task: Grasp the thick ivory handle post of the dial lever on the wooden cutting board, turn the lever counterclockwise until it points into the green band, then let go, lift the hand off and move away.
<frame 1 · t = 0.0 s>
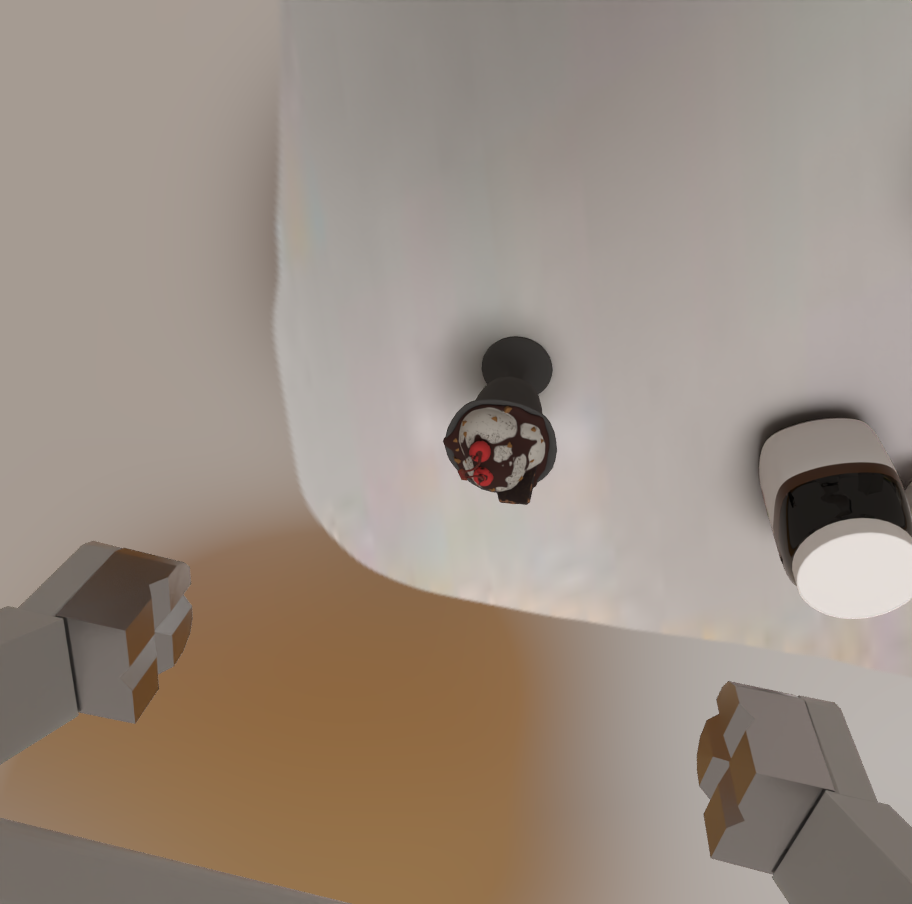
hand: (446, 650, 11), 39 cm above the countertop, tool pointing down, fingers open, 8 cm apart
spread jar: (842, 468, 52), on the countertop
sundae: (516, 367, 52), on the countertop
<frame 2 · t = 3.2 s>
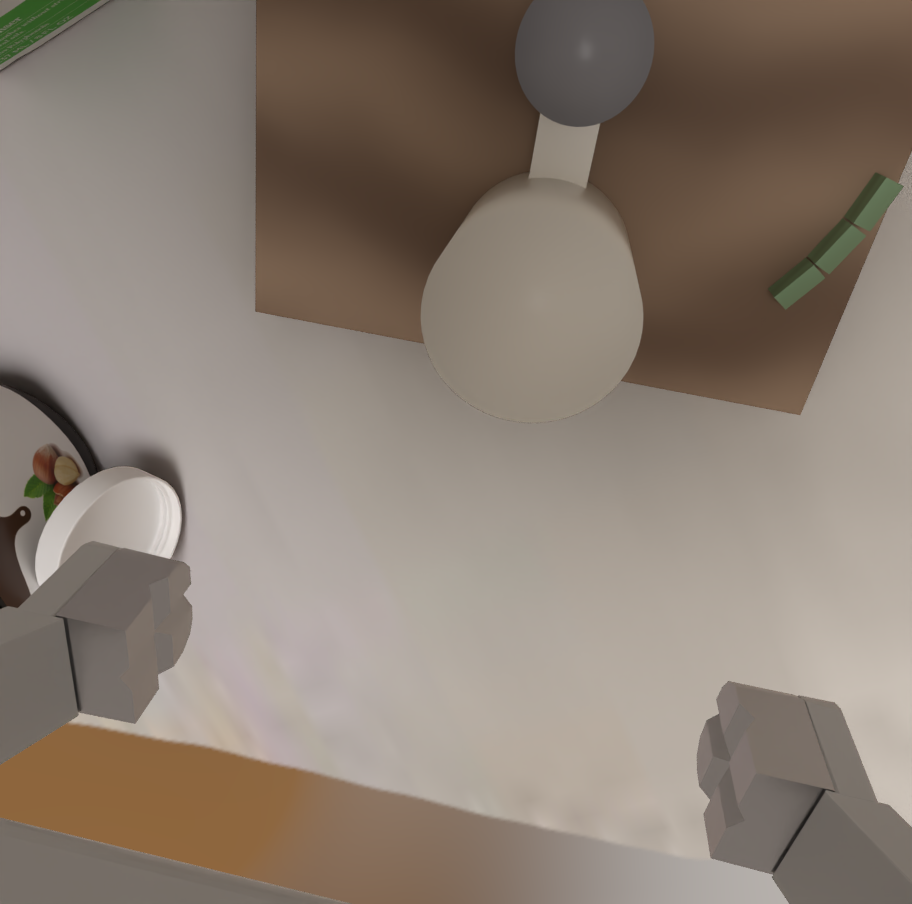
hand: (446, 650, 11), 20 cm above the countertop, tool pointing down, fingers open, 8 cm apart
spread jar: (72, 466, 36), on the countertop
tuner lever: (553, 201, 21), point 5 cm above the countertop, hinge at 0.0°
wooden cutting board: (583, 50, 24), on the countertop
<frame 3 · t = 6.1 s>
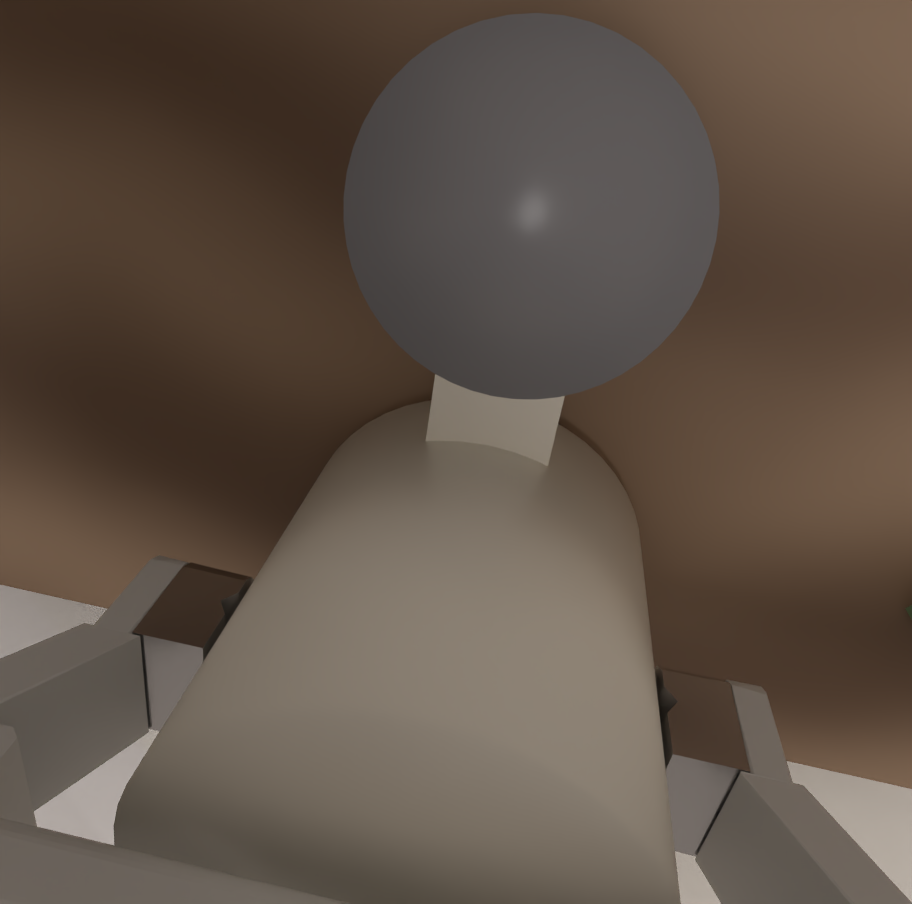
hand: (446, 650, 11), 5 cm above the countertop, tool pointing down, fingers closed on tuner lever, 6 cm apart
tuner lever: (467, 534, 9), point 5 cm above the countertop, hinge at 0.0°, touching gripper
wooden cutting board: (548, 156, 12), on the countertop
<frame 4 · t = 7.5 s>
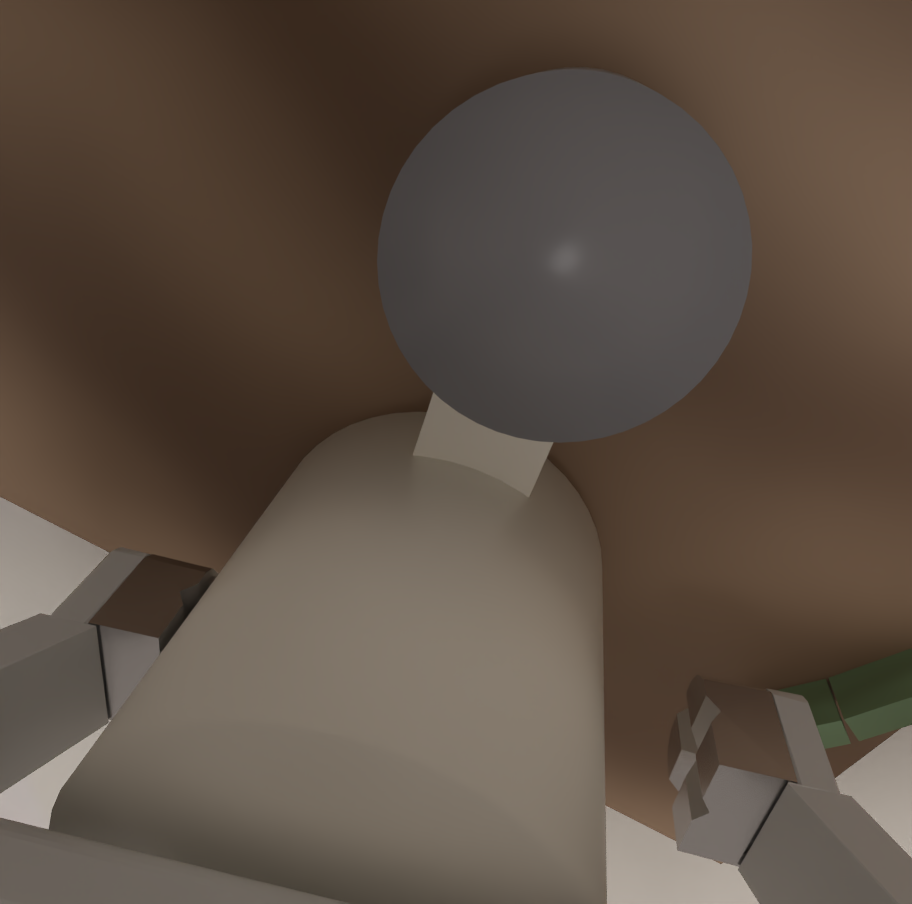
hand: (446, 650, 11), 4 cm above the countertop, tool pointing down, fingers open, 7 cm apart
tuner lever: (445, 557, 9), point 5 cm above the countertop, hinge at 10.0°, touching gripper
wooden cutting board: (571, 190, 12), on the countertop
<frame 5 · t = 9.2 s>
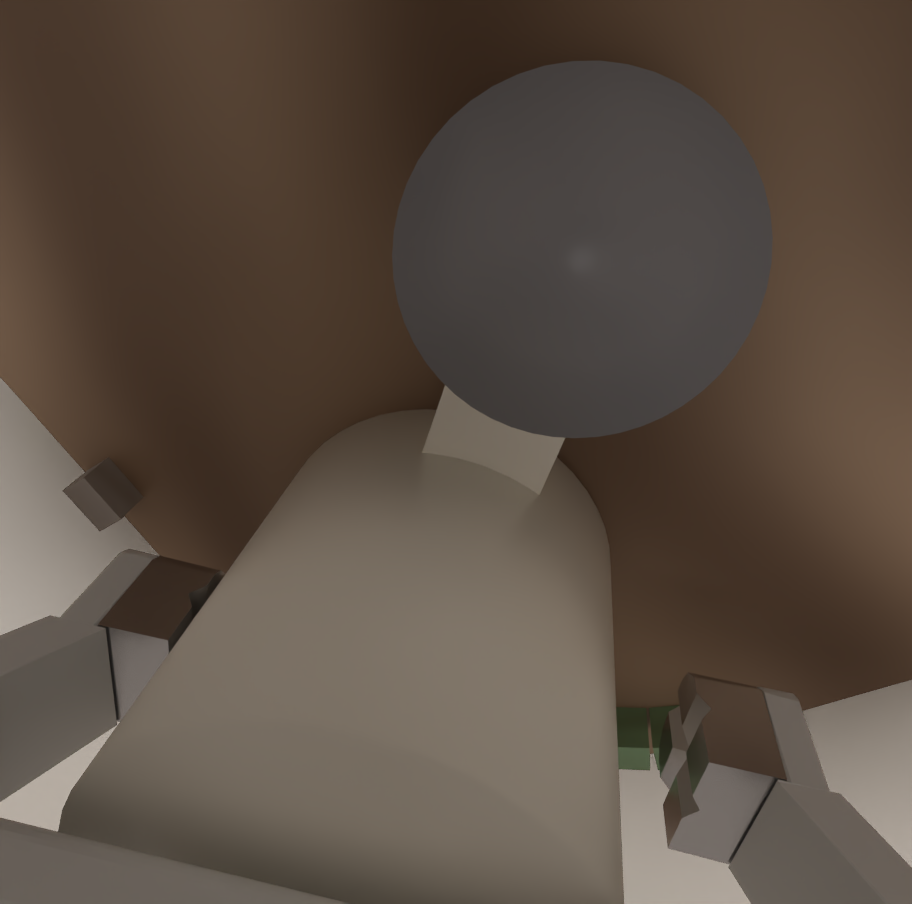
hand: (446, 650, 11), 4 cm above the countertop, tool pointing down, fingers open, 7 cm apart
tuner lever: (457, 555, 9), point 5 cm above the countertop, hinge at 39.5°, touching gripper
wooden cutting board: (580, 187, 12), on the countertop
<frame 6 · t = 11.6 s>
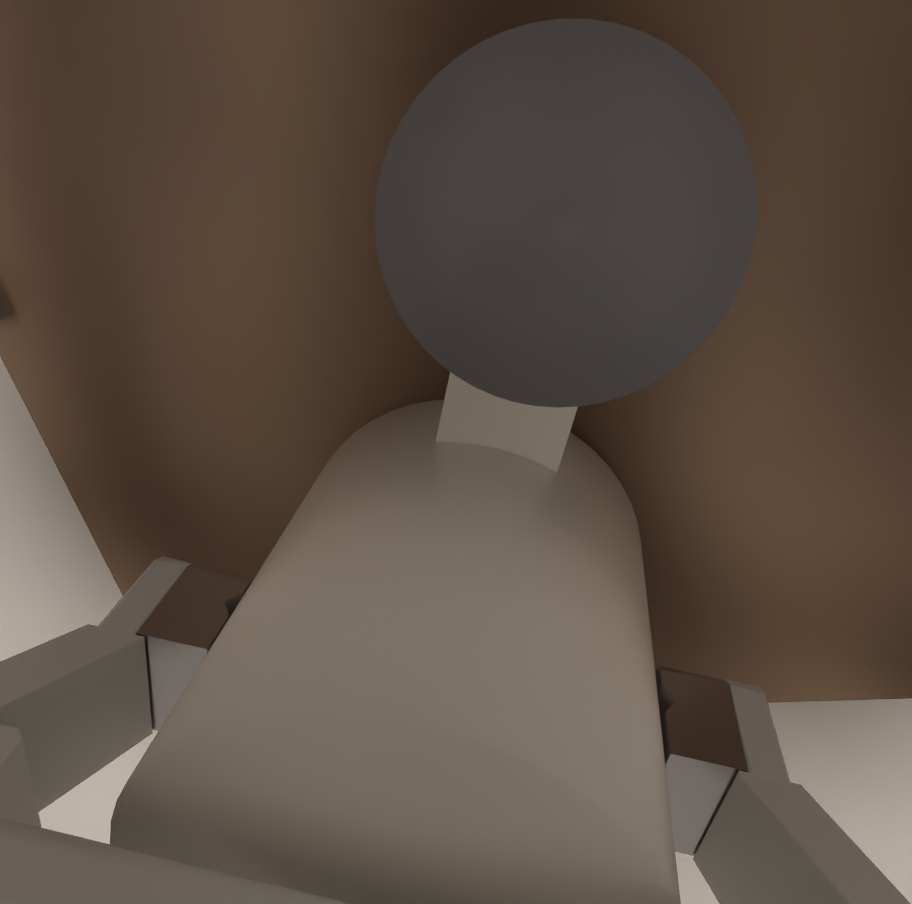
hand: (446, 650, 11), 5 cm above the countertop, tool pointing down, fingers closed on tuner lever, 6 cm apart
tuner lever: (477, 538, 9), point 5 cm above the countertop, hinge at 66.8°, touching gripper
wooden cutting board: (569, 160, 12), on the countertop
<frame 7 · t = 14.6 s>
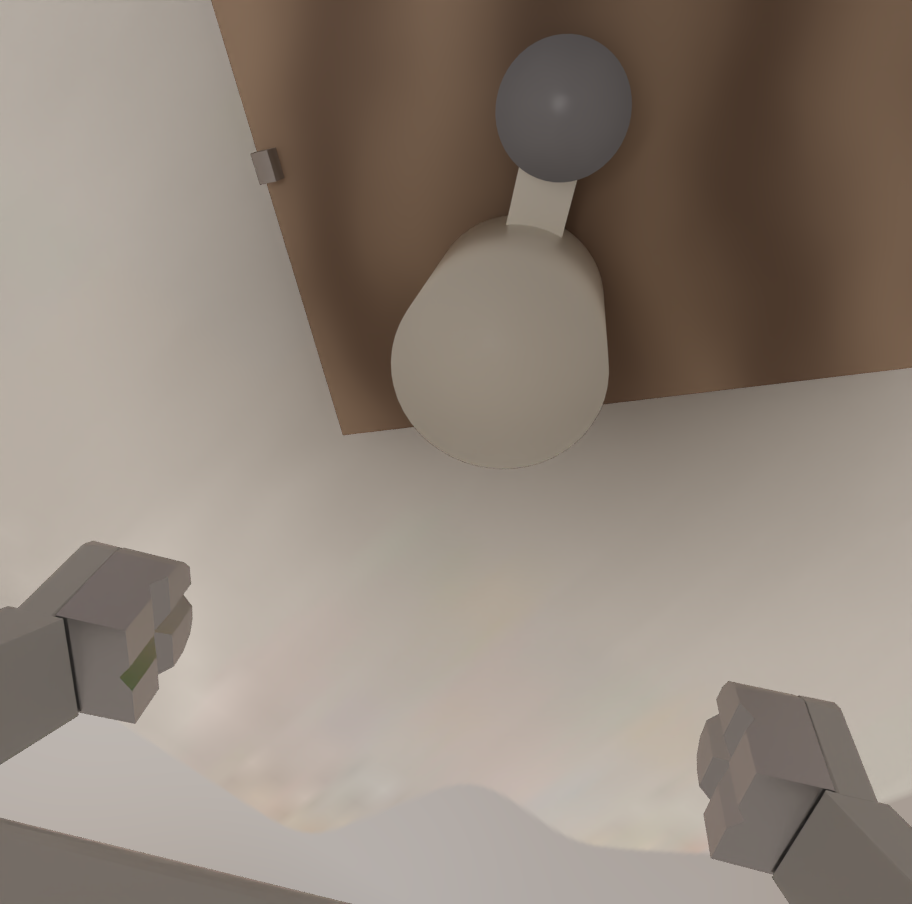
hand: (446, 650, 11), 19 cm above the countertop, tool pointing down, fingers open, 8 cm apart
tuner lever: (528, 251, 22), point 5 cm above the countertop, hinge at 67.2°
wooden cutting board: (567, 98, 24), on the countertop
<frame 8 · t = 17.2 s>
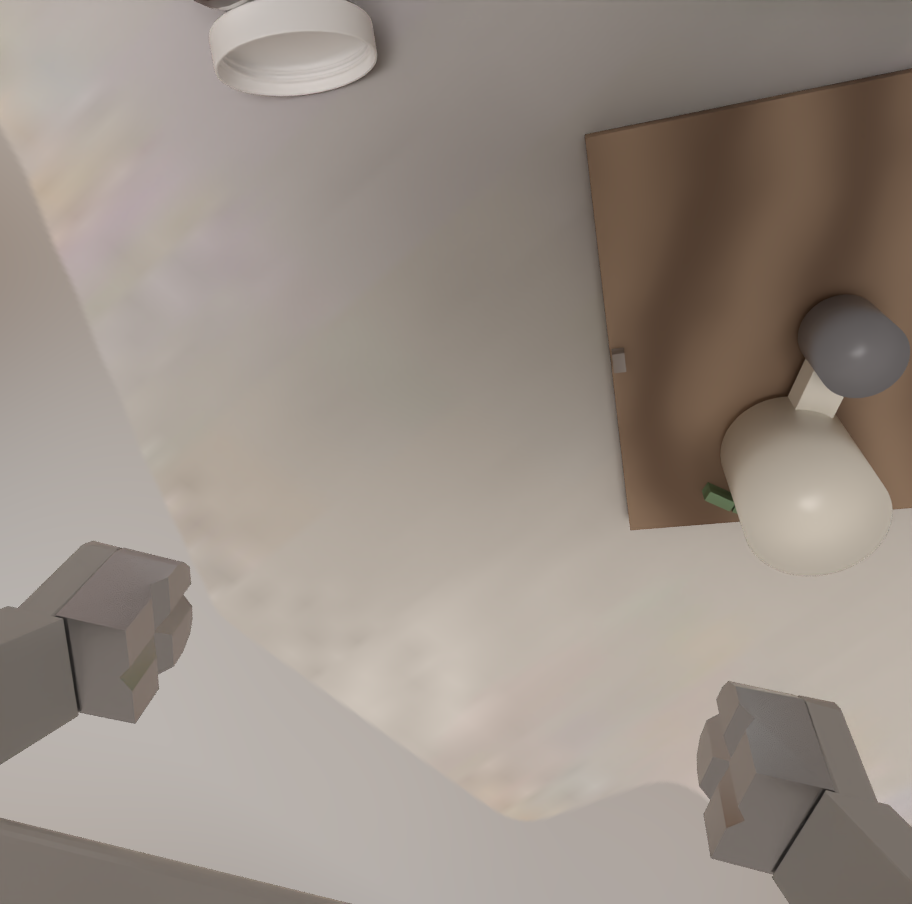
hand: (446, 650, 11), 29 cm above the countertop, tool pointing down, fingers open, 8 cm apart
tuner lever: (822, 434, 34), point 5 cm above the countertop, hinge at 67.2°
wooden cutting board: (826, 318, 36), on the countertop
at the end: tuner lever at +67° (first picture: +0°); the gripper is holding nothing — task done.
